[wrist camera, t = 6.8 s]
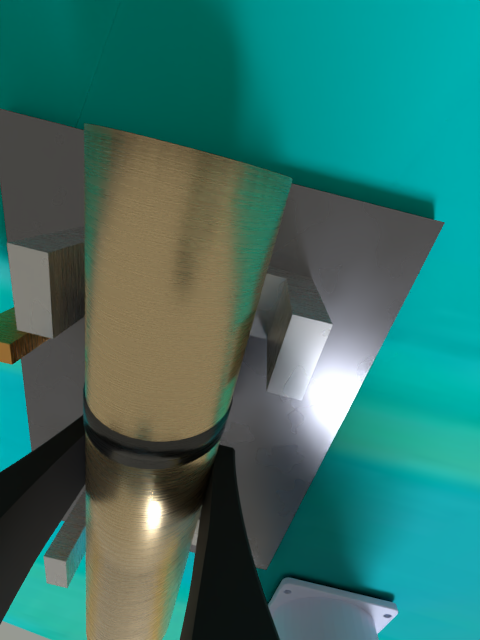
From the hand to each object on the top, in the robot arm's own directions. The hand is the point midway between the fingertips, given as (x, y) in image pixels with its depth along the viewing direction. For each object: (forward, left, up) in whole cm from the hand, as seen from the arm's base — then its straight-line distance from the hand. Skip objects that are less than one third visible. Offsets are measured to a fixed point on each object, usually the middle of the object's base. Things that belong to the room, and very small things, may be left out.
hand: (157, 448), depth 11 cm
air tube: (-1, 0, -2) cm, 2 cm away
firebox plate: (-1, 0, -3) cm, 3 cm away
